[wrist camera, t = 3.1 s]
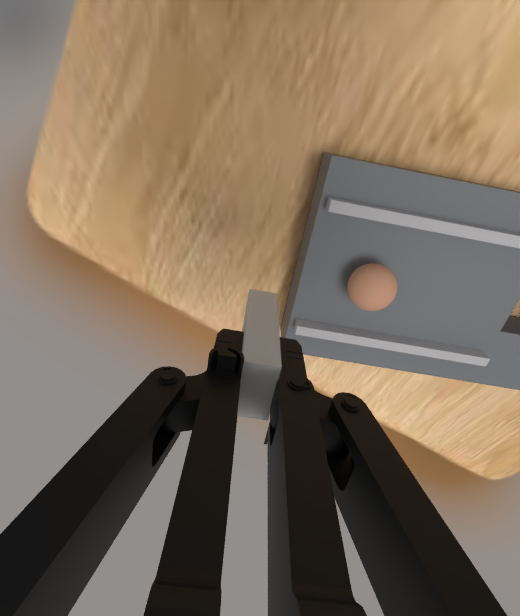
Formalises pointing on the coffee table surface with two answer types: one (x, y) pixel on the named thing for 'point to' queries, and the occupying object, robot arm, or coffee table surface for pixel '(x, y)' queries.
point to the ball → (372, 287)
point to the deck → (410, 273)
